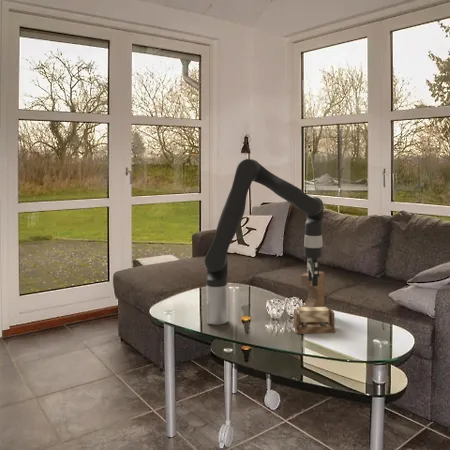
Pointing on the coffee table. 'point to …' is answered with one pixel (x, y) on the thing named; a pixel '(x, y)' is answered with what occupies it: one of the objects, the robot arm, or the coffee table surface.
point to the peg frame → (314, 324)
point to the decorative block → (314, 291)
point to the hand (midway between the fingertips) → (312, 283)
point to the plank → (313, 314)
